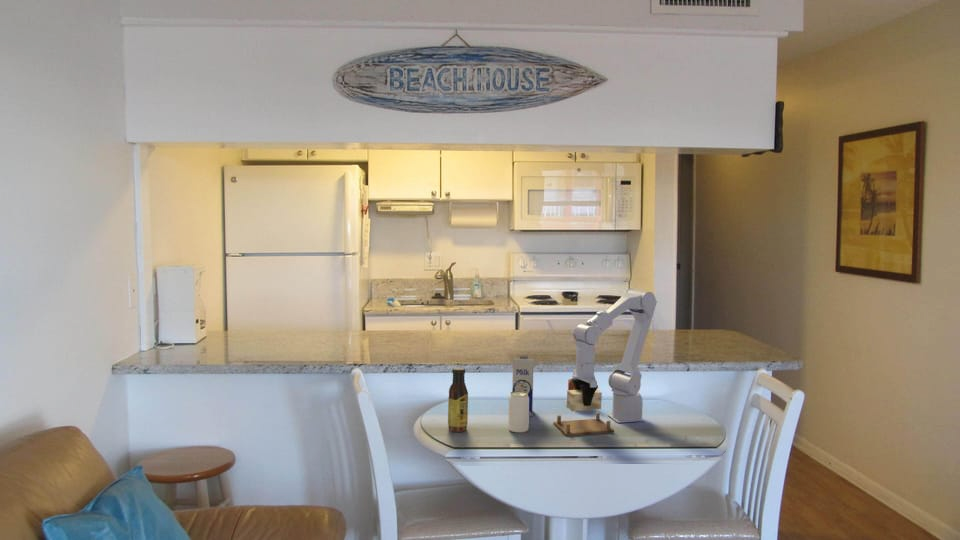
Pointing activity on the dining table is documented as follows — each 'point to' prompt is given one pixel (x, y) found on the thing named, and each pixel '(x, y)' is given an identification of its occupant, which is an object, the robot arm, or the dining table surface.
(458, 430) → the sauce bottle
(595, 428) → the chassis
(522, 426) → the can
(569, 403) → the block
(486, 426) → the dining table surface
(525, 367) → the milk carton
